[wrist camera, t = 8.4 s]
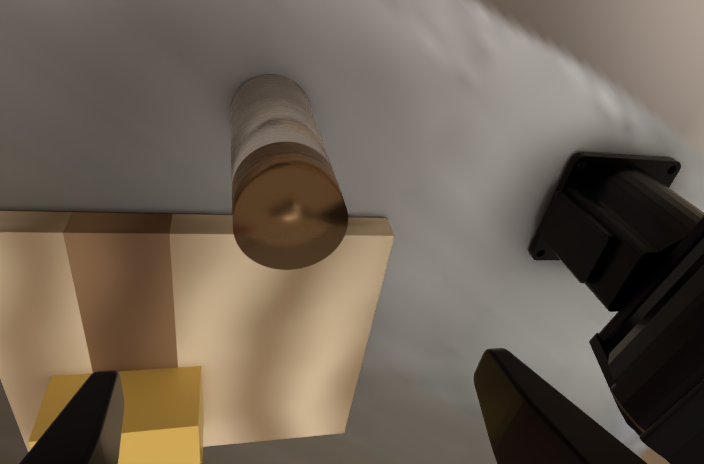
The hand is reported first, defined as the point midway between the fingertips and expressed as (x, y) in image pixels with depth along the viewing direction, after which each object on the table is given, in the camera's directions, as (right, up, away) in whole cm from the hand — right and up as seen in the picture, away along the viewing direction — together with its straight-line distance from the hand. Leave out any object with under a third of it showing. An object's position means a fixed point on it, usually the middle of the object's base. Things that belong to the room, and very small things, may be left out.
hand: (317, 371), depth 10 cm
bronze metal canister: (-3, +8, +10) cm, 13 cm away
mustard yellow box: (-11, -6, +16) cm, 21 cm away
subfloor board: (-8, -3, +17) cm, 19 cm away
